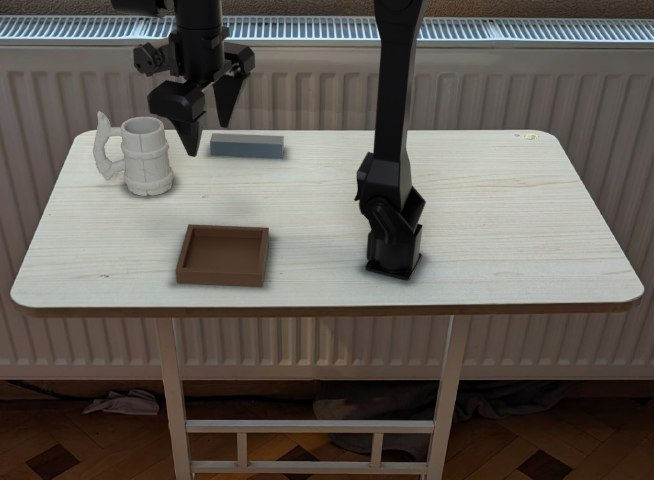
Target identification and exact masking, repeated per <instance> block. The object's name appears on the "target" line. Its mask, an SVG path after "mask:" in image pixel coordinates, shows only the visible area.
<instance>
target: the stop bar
mask: <svg viewBox="0 0 654 480" xmlns="http://www.w3.org/2000/svg"><path fill="white" fill-rule="evenodd" d="M284 139H285V136H284V135H267V134H266V135H265V134H242V133H241V134H240V133H219V132H218V133H217V132H215V133H214V132H212V134H211V136H210V140H209V147H210V156H225V157H244V158H245V157H247V158H271V159H272V158H273V159H276V158H277V159H283V158H284V150H285V143H284V142H285V141H284Z"/></svg>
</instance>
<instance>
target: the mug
mask: <svg viewBox="0 0 654 480" xmlns="http://www.w3.org/2000/svg"><path fill="white" fill-rule="evenodd" d="M96 117H97V126H96V131H95V132H96V133H95V136H94V142H93V148H92V155H93V158H94V161H95V166H96V169H97V171H98V172H99V174H101V175H102V177H103V178H104V180H106V181H110V180H111V179H112V178H113V176H114V175H116V174H117V173H120V172H123V180H124V182H125V184H126V187H127V190H128V191H129V192H130V193H133V194H134V195H138V196H140V197H141V196H142V197H147V196H157V195H161V194H165V193H166V192H167V191H169V190H171V189H172V186H173V180H174V176H175V173H174V170H173V168H172V166H171V165H170V158H169V149H170V144H169V141H168V139H167V137H166V132H165V125H164V123H163V122H162V120H161V119H158V118H156V117H153V116H136V117H132V118H129V119H126V120H125V121H123V122H122V123H121V126H112V124H111V122H110V120H109V118H108V117H107V115H105V113H104V112H102V111H100V110H98V111H97V115H96ZM110 137H121V143H120V149H121V152H122V154H123V158H121V159H118V160H115V161H112V160H111V159H110V158H109V157H107V154H106V148H105V146H106V144H107V143H108V140H109V139H110Z"/></svg>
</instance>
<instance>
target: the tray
mask: <svg viewBox="0 0 654 480" xmlns="http://www.w3.org/2000/svg"><path fill="white" fill-rule="evenodd" d="M269 242H270V227H267V226H265V227H262V226H241V225H240V226H239V225H217V224H216V225H215V224H193V223H192V224H191V223H189V224H187V228H186V231H185V235H184V240H183V243H182V245H181V250H180V252H179V253H180V254H179V257H178V261H177V264H176V267H175V278H176V279H175V280H176V284H184V285H206V286H208V285H209V286H228V287H229V286H231V287H233V286H234V287H251V288H253V287H255V288H256V287H257V288H262V287H263V285H264V278H265V272H266V271H265V270H266V266H267V265H266V264H267V258H268V250H269V244H270V243H269Z"/></svg>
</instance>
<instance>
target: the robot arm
mask: <svg viewBox="0 0 654 480" xmlns="http://www.w3.org/2000/svg"><path fill="white" fill-rule="evenodd" d="M372 1H373V10H374V21H375V24H376V28H377V32H378V35H379V40H380V53H379V54H380V56H379V67H378V69H379V70H378V80H377V81H378V83H377V95H376V96H377V98H376V110H375V124H374V136H373V148H372V151H373V152H372V151H367V152H366V154H365V155H364V158H363V159H362V161H361V162H360V165H359V166H358V169H357V171H356V187H357V191H356V195H355V196H354V199H353V201H354V202H358V210H359V212H360V214H361V215H362V216H364V218H365V219H366V220H367V221H368V224H369V227H370V230H369V232H368V234H367V241H366V253H365V254H366V255H365V258H366V259H367V260H368V261H367V263H366V264H365V266H364V269H365V271H368V272H372V273H376V274H380V275H383V276H387V277H391V278H395V279H399V280H403V281H410V279H411V278H412V276H413V274H414V272H415V270H416V269H417V267H418V266H419V264H420V262H421V260H422V257H423V254H421V253H420V251H421V250H420V249H421V242H422V241H421V240H422V233H423V224H421V223H419V222H420V220H421V217H422V214H423V212H424V209H425V206H426V203H427V201H426V199H424V198H423V196H422V195H421V193H420V192H418V190H417V189H416V187H414V185H413V181H412V168H411V166H412V165H411V162H410V157H409V154H408V150H407V140H408V131H409V121H410V113H411V101H412V93H413V83H414V82H413V81H414V71H415V63H416V54H417V53H416V51H417V43H418V37H419V34H420V30H421V27H422V25H423V21H424V18H425V15H426V13H427V12H426V11H427V9H428V5H429V2H430V0H372ZM110 4H111V6H112V8H113V9H114V11H115V12H116V13H119V14H126V15H134V16H142V17H147V18H148V17H149V18H156V19H162V18H164V17H166V15H167V14H168V12H169V11H171V10H174V11H173V12H174V21H175V29H174V30H172V31H170V32H169V34H168V36H167V37H163V38H159V39H156V40H153V41H147V42H146V43H144V44H142V43H140V44H138V45H136V46H135V47H134V48H132V49H133V50H132V52H133V53H132V56H133V57H132V59H133V67H134V68H135V69H136V70H137V72H138V73H139V74H141V75H143V74H144V75H145V76H146V77H147V78H149V77H153V76H154V75H155V74H159V73H164V72H168V71H169V76H171V77H175V78H179V77H180V76H181V77H182V78H183V80H184V82H180V81H179V82H178V81H173V80H169V79H165V80H164V81H163V82H161V83H160V84H158V85H157V86H156V87H155V88H154V89H152V90H151V91H150V92H149V93H148V94H147V95H146V101H147V102H146V103H147V111H148V112H149V114H151V115H156V116H158V117H159V118H164V119H167V120H168V121H169V122H170V123H171V125H172V126H173V128H174V130H175V131H176V133H177V136H178V137H179V139H180V141H181V144H182V146H183V148H184V150H185V152H186V154H187V156H188V157H191V158H196V157H197V156H198V153H199V148H200V144H201V139H202V135H203V130H204V126H205V121H206V116H207V110H204V109H205V106H206V96H205V93H204V92H205V91H206V90H208V88H210V87H211V86H212V89H213V95H214V101H215V107H216V114H217V119H218V124H219V126H220V127H221V128H222V129H223V128H224V129H228V128H229V127H230V124H231V121H232V119H233V117H234V114H235V111H236V109H237V107H238V104H239V101H240V98H241V97H242V94H243V92H244V90H245V87H246V85H247V83H248V80H249V79H250V78H251V75H252V71H253V70H254V69H255V68H256V54H255V52H254V51H253V49H252V48H251V47H250V46H249V45H247V44H241V43H236V42H232V41H231V42H230V41H224V40H226V39H227V38H228V37H230V35H231V34H230V33H231V32H230V26H224V23H223V8H222V7H223V6H222V0H110Z"/></svg>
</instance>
